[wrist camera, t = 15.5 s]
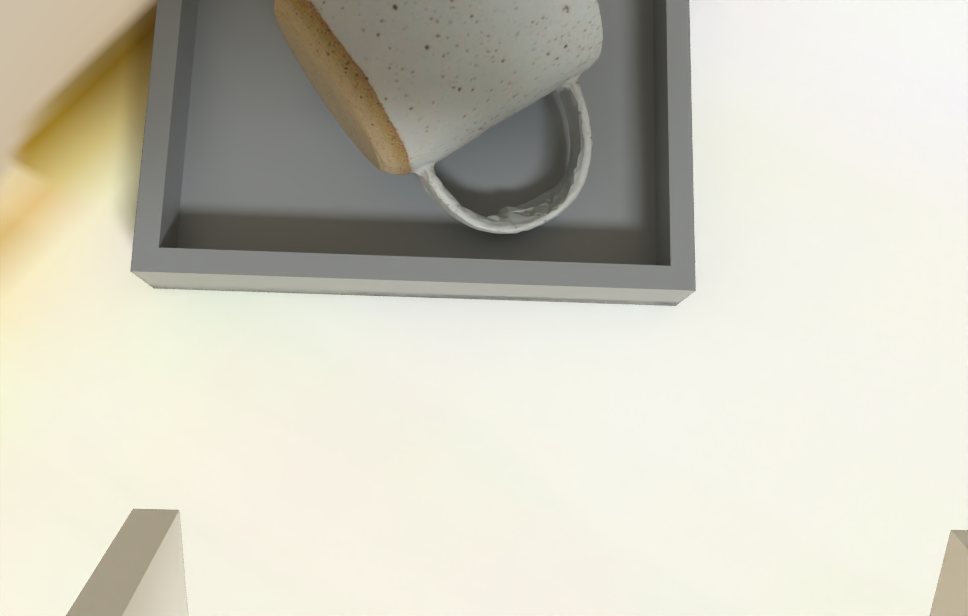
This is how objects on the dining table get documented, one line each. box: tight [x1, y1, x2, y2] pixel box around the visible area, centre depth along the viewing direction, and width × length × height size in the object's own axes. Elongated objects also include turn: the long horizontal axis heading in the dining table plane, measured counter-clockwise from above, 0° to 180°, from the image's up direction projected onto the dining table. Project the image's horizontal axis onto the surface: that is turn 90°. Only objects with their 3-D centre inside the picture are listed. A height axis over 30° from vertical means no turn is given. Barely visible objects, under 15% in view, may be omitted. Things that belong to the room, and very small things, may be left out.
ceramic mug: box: [274, 0, 603, 234], centre depth 29 cm, size 11×8×8 cm
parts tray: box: [131, 0, 696, 306], centre depth 32 cm, size 18×18×2 cm
